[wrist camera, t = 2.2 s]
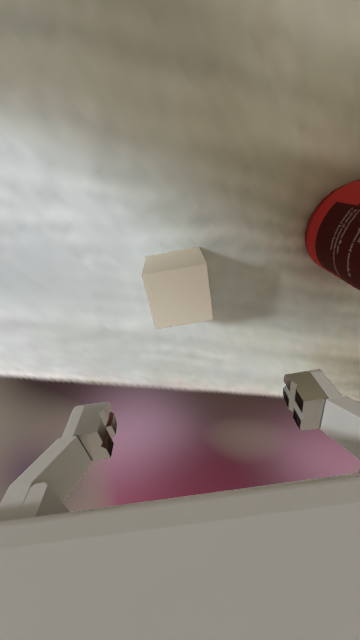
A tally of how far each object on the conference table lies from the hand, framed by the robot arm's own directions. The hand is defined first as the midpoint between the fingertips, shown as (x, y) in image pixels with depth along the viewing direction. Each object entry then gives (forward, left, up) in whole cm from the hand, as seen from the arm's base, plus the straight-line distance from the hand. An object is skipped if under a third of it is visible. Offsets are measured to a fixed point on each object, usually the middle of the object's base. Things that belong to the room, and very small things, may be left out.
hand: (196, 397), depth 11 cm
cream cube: (0, 0, -15) cm, 15 cm away
